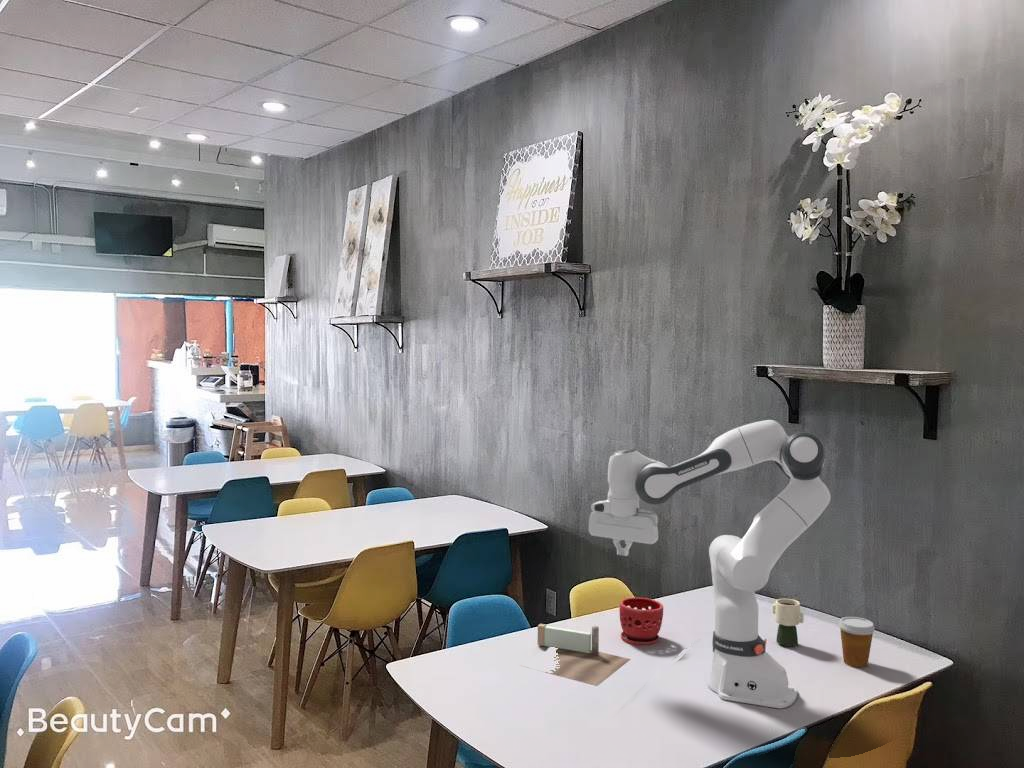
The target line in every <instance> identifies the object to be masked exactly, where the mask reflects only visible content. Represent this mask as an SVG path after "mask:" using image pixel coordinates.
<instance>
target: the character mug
mask: <svg viewBox="0 0 1024 768" xmlns="http://www.w3.org/2000/svg"><path fill="white" fill-rule="evenodd" d="M772 614H774V615H775V616H774V617H775V618H774V619H775V622H776V623H777V624H778V627H777V632H776V638H775V639H776V643H778V645H782V646H790V647H792V646H797V645H799V639H798V631H797V626H798V625H799V624H803V623H804V618H805V617H804V615H805V614H804V612H802V611H801V602H800V601H798V600H797V599H793V598H792V599H791V598H778V599H776V600H775V603H772Z"/></svg>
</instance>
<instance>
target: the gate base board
mask: <svg viewBox="0 0 1024 768" xmlns="http://www.w3.org/2000/svg"><path fill="white" fill-rule="evenodd" d="M599 632H600V631H599V626H596V625H593V626H591V652H590V653H585V652H579V651H573V650H567V649H561V648H558V649H557V650H556V653H558V655H556V657H557V656H558V657H559V658H557V659H556V660H560V661H558V663H559V664H556V665H560V666H556V667H560V668H558V669H557V668H555V670H556V671H554V670H550V671H552V672H553V673H548V672H545V674H550V675H553V676H557V677H561V678H564V679H569V680H571V681H572V680H574V681H577V682H580V683H585V684H589V685H592V686H596V687H598V686H599V685H601V683H603V682H604V681H605V680H606V679H608V678H609V677H611V675H613V674H614V673H615V672H617V671H618V670H619V669H620V668H621V667H623V666H624V665H625V664H627V663H628V662H629V661H630V660H631V658H628V657H624V656H620V655H619V656H618V655H616V654H615V655H614V654H610V653H606V652H602V651H599V650H600V649H599V647H600V646H599V641H600V640H599V639H600V638H599V637H600V636H599V635H600V634H599ZM556 657H554V658H556ZM556 660H554V661H556Z"/></svg>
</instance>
